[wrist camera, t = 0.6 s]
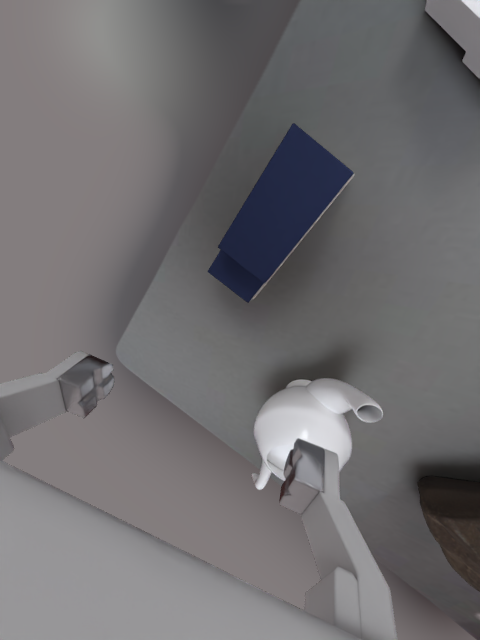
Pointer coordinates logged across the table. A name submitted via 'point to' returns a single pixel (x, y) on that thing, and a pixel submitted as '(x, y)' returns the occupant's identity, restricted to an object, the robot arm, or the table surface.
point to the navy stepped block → (278, 213)
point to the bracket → (460, 26)
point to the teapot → (309, 422)
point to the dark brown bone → (454, 522)
